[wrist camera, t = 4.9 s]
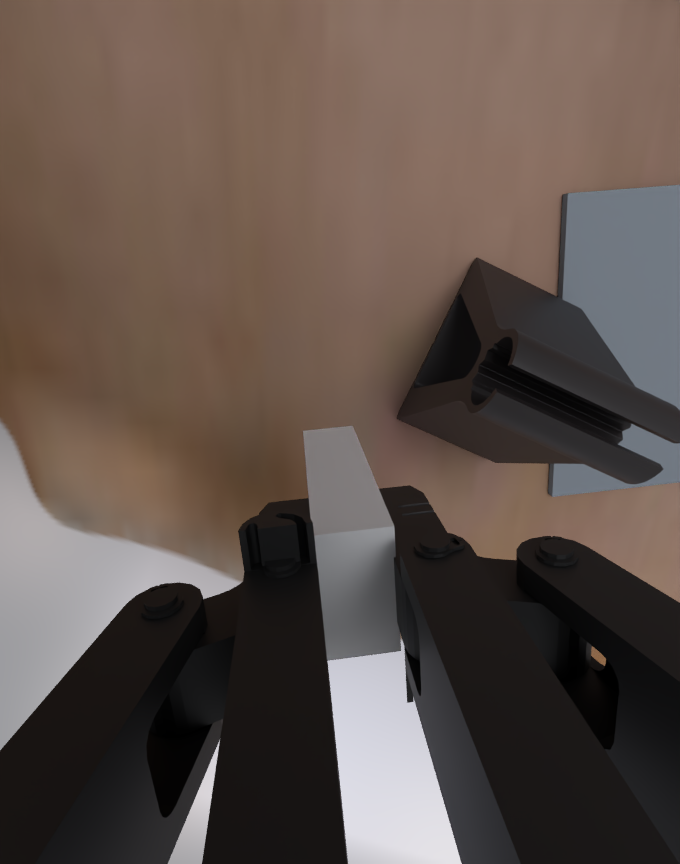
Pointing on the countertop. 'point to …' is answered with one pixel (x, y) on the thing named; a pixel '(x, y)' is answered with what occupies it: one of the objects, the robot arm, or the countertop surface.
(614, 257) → the slate mat
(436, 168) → the countertop surface
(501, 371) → the phone stand
